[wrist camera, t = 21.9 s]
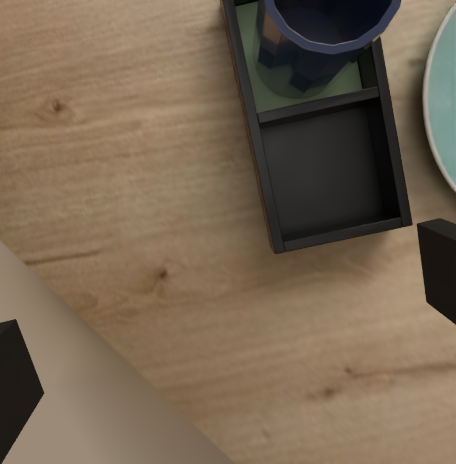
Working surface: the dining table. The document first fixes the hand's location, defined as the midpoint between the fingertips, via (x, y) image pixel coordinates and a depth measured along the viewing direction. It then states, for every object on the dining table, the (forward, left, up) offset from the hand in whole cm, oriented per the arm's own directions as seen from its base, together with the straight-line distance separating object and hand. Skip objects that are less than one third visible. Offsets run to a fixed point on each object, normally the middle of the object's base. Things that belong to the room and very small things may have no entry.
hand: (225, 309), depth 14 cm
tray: (+8, +8, -23) cm, 26 cm away
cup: (+8, +13, -22) cm, 27 cm away
